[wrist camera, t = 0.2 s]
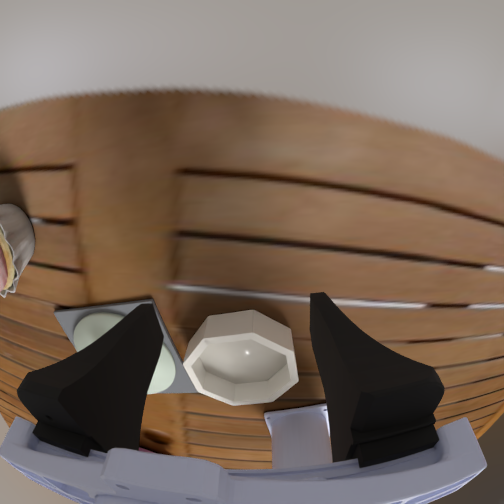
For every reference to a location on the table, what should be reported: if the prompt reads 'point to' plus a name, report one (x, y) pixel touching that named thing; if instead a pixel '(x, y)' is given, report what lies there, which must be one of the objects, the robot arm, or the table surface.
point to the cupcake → (14, 246)
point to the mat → (73, 316)
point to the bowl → (242, 358)
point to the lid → (103, 322)
